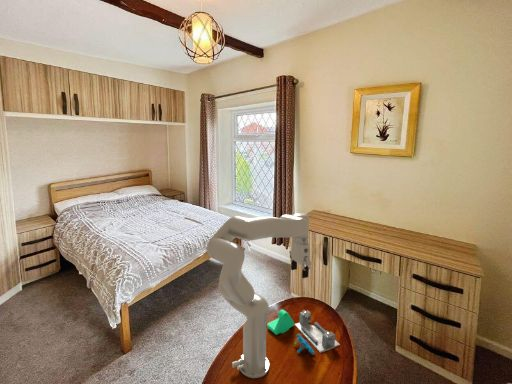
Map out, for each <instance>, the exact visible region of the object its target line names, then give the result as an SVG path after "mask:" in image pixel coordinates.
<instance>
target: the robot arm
mask: <svg viewBox="0 0 512 384" xmlns="http://www.w3.org/2000/svg"><path fill="white" fill-rule="evenodd" d="M309 222H310V217H309V214H307V213H305V212H296V213H294V214H283V215H281V216H280V217H275V216H262V217H261V216H260V217H251V218H249V217H243V216H239V215H234V216H231V217H230V218H229V219H227V220H226V221H225V222H224V223H223V224H222V225H221V227H219V229H218V230H217V231H216V232H215V233H214V234H213V235H212V237H211V238H210V239H209V241H208V242H207V245H206V253H207V255H208V256H209V257H210V259H213V260H215V261H217V262H219V263H220V264H222V268H221V271H220V274H219V278H218V279H219V282H218V285H217V287H218V292H219V293H220V295H221V296H222V297H223V298H224V299H225V300H226V302H227V303H228V304H229V305H230V306H231V307H232V308H233V309H234V310H236V311H238V312H239V313H241V314H242V315H243V316H245V317H246V321H245V322H244V324H243V327H242V353H243V354H242V355H240V358H239V359H238V360H235V361H232V362H231V366H232V368H237V371H240V372H241V374H242V375H244V376H245V377H247V378H251V379H258V378H262V377H264V376H266V375H267V374H268V372H269V370H270V361H269V359H268V358H267V322H268V321H267V319H268V315H269V310H270V307H269V302H268V301H267V300H266V299H265V298H264V297H263V296H262V295H260V294H257V293H256V292H255V289H254V287H253V285H252V284H251V283H250V282H249V280H248V278H246V276H245V275H244V273H243V272H242V268H243V265H244V262H245V251H244V249H243V247H242V246H241V245H240V244H238V243H236V242H234V239H235V238H237V239H240V240H242V241H247V242H251V241H256V240H262V239H267V238H291V239H292V242H291V248H290V249H291V250H289V252H288V253H289V259H290V270H291V271H295V270H297V269H298V265H301V268H302V271H301V278H302V279H308V278H309V274H310V273H309V270H310V269H311V267H312V262H311V251H310V250H311V249H310V244H309V226H310V223H309Z"/></svg>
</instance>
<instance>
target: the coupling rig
mask: <svg viewBox="0 0 512 384" xmlns="http://www.w3.org/2000/svg"><path fill="white" fill-rule="evenodd" d="M311 319H312V313H311V312H310V311H309V310H305V309H304V310H302V311H301V312H299V322H297V323H294V326H295V327H296V328H297V329H298V330H299V331H300V332H301V334H302V335H303V336H304V337H305V338H306V339H307V341H308V342H309V343H310V345H312V346H313V347H314V348H315V349H316V350H317V352H318V353H320V354H321V353H324V352H326V351H330V350H332V349H334V348H336V347H339V346H340V343H339V342H338V341H337V340H336V334H335V333H334V332H333V331H329V330H326V329H324V328H323V327H322V326H321V325H320V324H319V323H318V322H316V321H315V322H314V323H313V324H314V325H312V323H311V321H312V320H311Z"/></svg>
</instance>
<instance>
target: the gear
mask: <svg viewBox="0 0 512 384" xmlns="http://www.w3.org/2000/svg"><path fill="white" fill-rule="evenodd" d="M297 343H299V344H300V348H299V349H297V351H296V352H297V353H298V354H300V353H301V352H302V350H303V349H306V350H307V351H308V352H309V354H312V355H315V351H314V349H313V347H312V346H311V344H309V341H308V340H305V338H303V336H302V335H301V334H300V333H297V334H296V341H295V342H294V344H293V345H295V346H296V345H297Z"/></svg>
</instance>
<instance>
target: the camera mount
mask: <svg viewBox="0 0 512 384" xmlns="http://www.w3.org/2000/svg"><path fill="white" fill-rule="evenodd" d="M277 317H278V318H276V319H274V320H271V321H270V322H268V323H266V328H267V329H268V330H270V331H271V332H272V333H274V335H276V336H277V335H279V334H284V333H286V332H287V331H289V330H290V328H292V327H294V326H295V322H294V320H293V319H292V317H291V315H290V314H289V312H287V311H286V310H284V309H280V310H279V311H278V314H277Z"/></svg>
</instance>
